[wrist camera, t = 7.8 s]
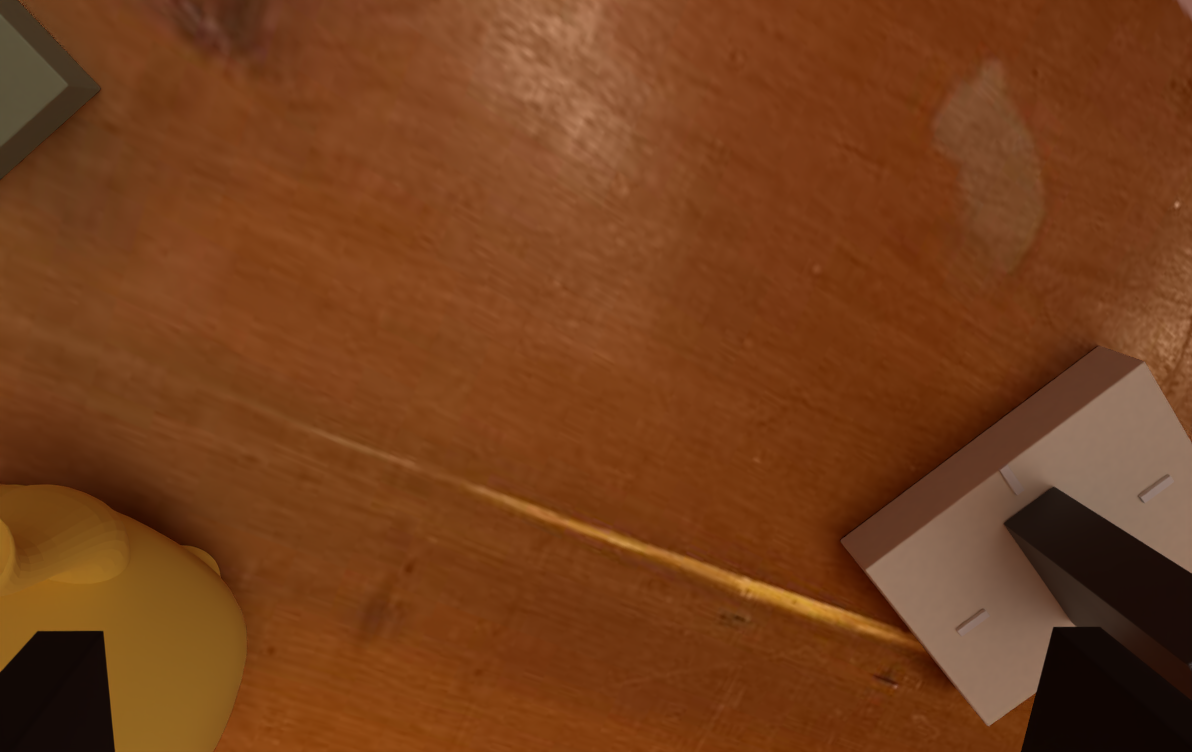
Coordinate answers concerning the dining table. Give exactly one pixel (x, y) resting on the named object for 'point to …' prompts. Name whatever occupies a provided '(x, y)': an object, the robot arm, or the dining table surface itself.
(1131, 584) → the dark grey rectangular block
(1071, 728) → the robot arm
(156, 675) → the teapot
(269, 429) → the dining table surface
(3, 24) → the housing
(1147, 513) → the panel
